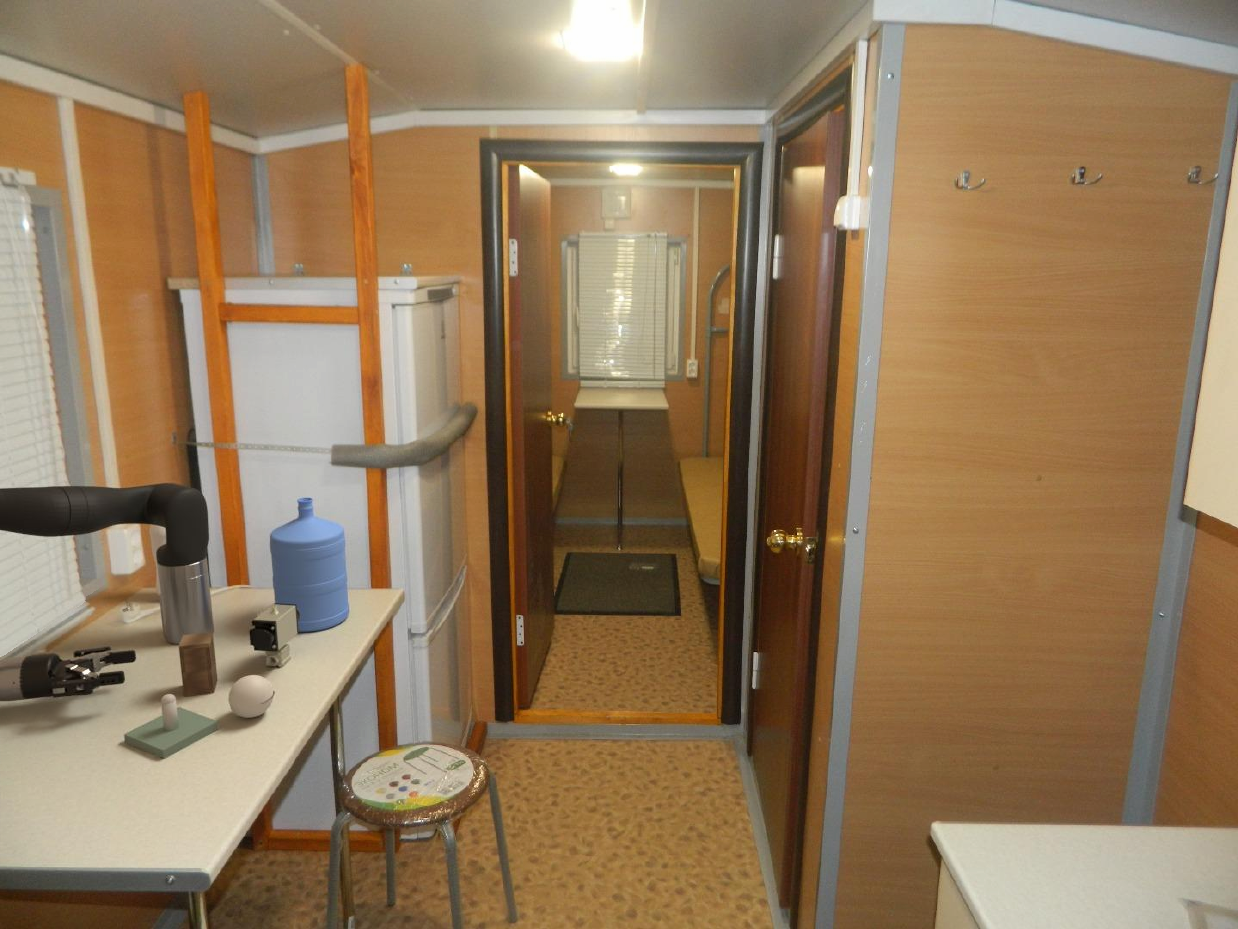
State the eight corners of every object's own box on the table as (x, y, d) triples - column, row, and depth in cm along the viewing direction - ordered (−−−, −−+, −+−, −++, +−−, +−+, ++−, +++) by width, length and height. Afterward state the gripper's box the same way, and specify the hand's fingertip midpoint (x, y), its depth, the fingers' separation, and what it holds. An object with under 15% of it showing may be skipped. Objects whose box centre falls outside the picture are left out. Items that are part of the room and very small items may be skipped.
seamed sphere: (255, 729, 142) (251, 690, 140) (220, 721, 144) (216, 683, 142) (294, 701, 151) (291, 665, 149) (261, 694, 153) (258, 658, 152)
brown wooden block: (184, 696, 152) (178, 646, 150) (188, 683, 157) (183, 635, 154) (213, 692, 154) (208, 643, 151) (217, 680, 158) (212, 632, 156)
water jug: (335, 634, 179) (327, 510, 172) (263, 632, 179) (253, 508, 173) (358, 605, 194) (352, 491, 188) (292, 604, 194) (283, 489, 188)
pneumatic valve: (303, 650, 171) (299, 596, 168) (275, 677, 160) (270, 620, 157) (278, 649, 172) (273, 595, 169) (247, 675, 160) (242, 618, 157)
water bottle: (198, 593, 199) (187, 494, 193) (173, 604, 192) (162, 501, 187) (175, 589, 201) (164, 490, 196) (150, 600, 195) (137, 498, 189)
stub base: (125, 742, 137) (119, 700, 136) (179, 714, 146) (175, 675, 144) (164, 758, 133) (159, 716, 131) (218, 729, 142) (214, 689, 140)
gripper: (7, 676, 138) (117, 664, 143) (36, 641, 151) (136, 631, 156) (13, 717, 139) (122, 704, 144) (41, 678, 153) (140, 667, 158)
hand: (129, 666), depth 150 cm, fingers open, 8 cm apart
